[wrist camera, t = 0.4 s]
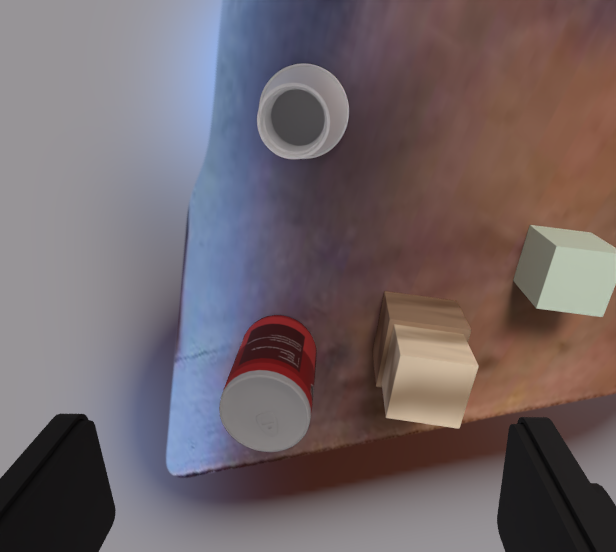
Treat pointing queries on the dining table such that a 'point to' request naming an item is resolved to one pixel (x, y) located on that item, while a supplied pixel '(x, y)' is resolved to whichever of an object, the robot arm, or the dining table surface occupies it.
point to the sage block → (566, 271)
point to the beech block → (428, 376)
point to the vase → (302, 112)
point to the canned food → (271, 385)
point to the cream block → (414, 321)
